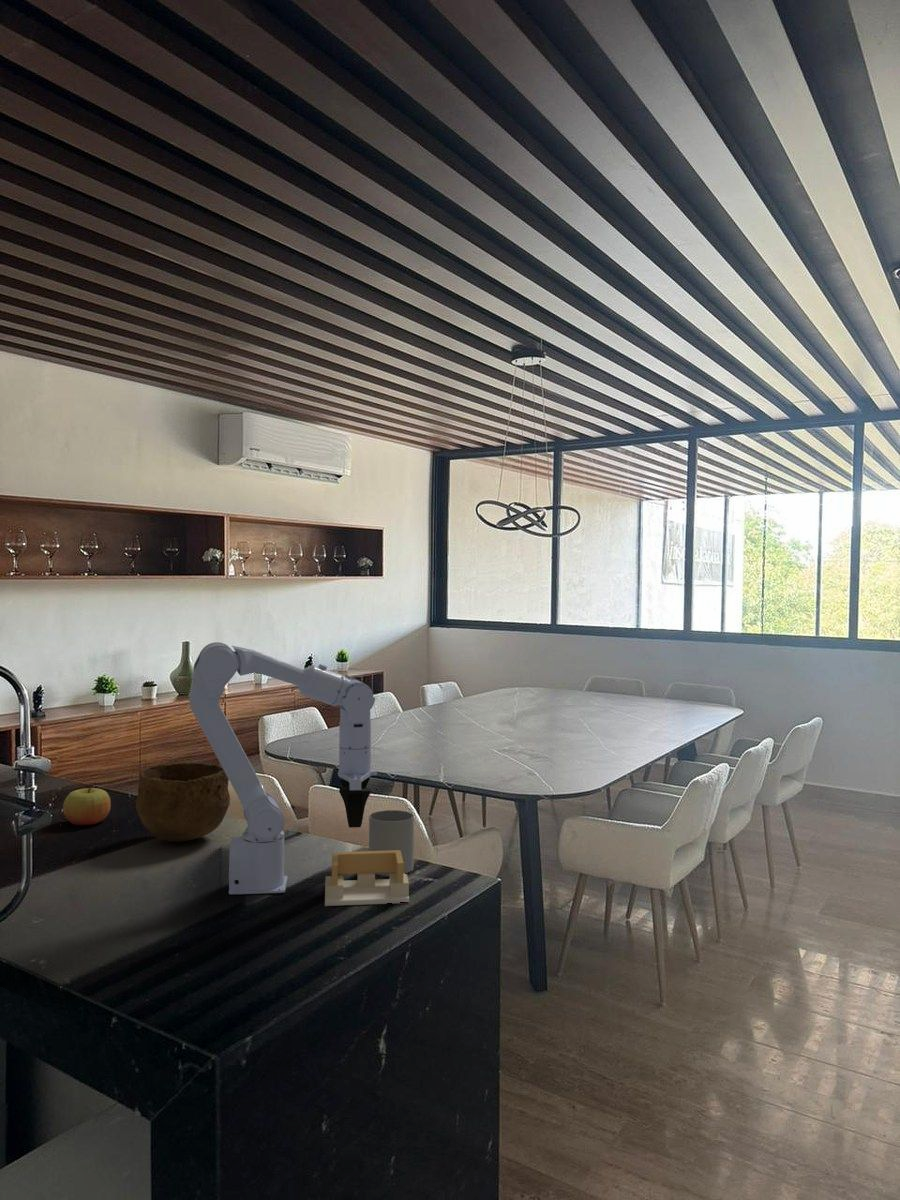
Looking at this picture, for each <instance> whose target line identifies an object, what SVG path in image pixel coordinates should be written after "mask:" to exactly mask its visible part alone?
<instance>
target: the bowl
mask: <svg viewBox="0 0 900 1200" xmlns="http://www.w3.org/2000/svg"><path fill="white" fill-rule="evenodd" d="M138 778H139V779H138V787H137V788H138V792H137V797H136V801H135V809H136V811H137V814H138V816H139V819H140V820H141V823H142V826H143V827H144V828H145V829H146V830H147V831H148V832H150V834H152V835H153V836H154V837H155V838H158V839H162V840H163V841H166V842H176V843H177V842H179V843H180V842H186V841H193V840H197V839H200V838H202V837H205V836H207V835H209V834H210V833H212V832H213V831H215V830H216V829H217V828H218V827H219V826H220V825H221V824H222V822H223V820H224V819H225V816H226V814H227V811H228V809H229V806H230V804H231V795H230V791H229V782H230V781H229V779H228V777H227V775H226V773H225V771H224V769H223V768H222V766H221V765H217V764H216V763H213V764H211V763H204V762H203V763H201V762H191V761H190V762H176V763H164V764H155V765H151V766H147V767H144V768H142V769H141V770H140V772H139V776H138Z"/></svg>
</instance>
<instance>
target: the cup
mask: <svg viewBox="0 0 900 1200" xmlns="http://www.w3.org/2000/svg"><path fill="white" fill-rule="evenodd" d="M414 822H415V816H414V814H413V813H412V812H408V811H404V810H398V809H397V810H395V809H393V810H392V809H391V810H388V809H386V810H379V811H375V812H372V813H370V814H369V816H368V851H389V850H401V855H402V859H403V863H404V870H403V874H405V873H407V874H409V873H411V872H412V871H413V870H414V869H415V868H414V865H415V864H414V863H415V862H414V855H415V854H414V853H415V852H414V851H415V850H414V849H415V848H414V846H415V843H414V842H415V841H414V840H415V839H414V837H415V834H414V833H415V823H414ZM410 871H411V872H410ZM408 872H409V873H408ZM390 874H396V873H395V872H380V873H375V875H379V876H383V877H386V876H387V877H389V875H390Z"/></svg>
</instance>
